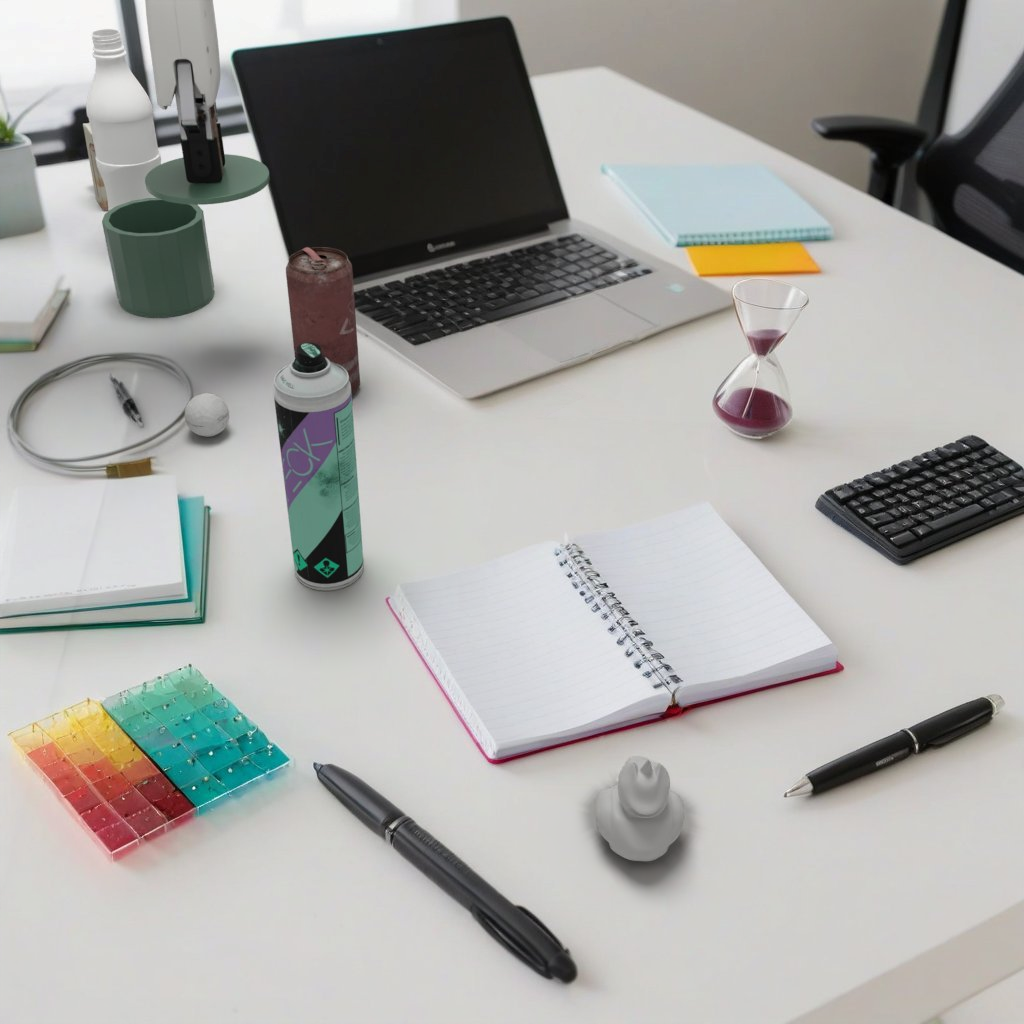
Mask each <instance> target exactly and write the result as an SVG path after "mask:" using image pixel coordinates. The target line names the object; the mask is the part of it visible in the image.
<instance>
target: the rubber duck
mask: <svg viewBox="0 0 1024 1024" xmlns="http://www.w3.org/2000/svg"><path fill="white" fill-rule="evenodd" d="M670 789H671V778H670V775H669V772H668V769H667V768H666V767H665V765H663V764H662V763H660V762H657V761H654V760H650V759H649V758H647V757H645V756H640V755H635V756H634V755H633V756H630V757H629V758H627V759H626V761H625V762H624V765H623V766H622V767H621V769H620V771H619V775H618V781H617V784H615V785H613V786H612V787H609V788H604V789H602V790H600V791H599V792H598V793H597V794H596V797H595V801H594V808H595V811H594V812H595V823H596V824H595V825H596V828H597V830H598V832H599V834H600V836H602V838H603V839H604V840H605V841H606V842H607V843H608V844H609V848H610V849H611V850H612V851H613V852H614V853H615V854H616V855H619V856H620V857H622V858H624V859H626V860H629V861H635V862H652V861H655V860H657V859H659V858H661V857H663V856H664V854H666V853H667V851H668V849H669V848H670V845H672V844H673V843H674V842H675V841H676V840H678V837H679V836H680V835H681V832H682V830H683V827H684V823H685V808H684V807H685V806H684V801H683V798H682V797H681V795H680V793H678V792H676V791H673V790H670Z"/></svg>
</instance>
